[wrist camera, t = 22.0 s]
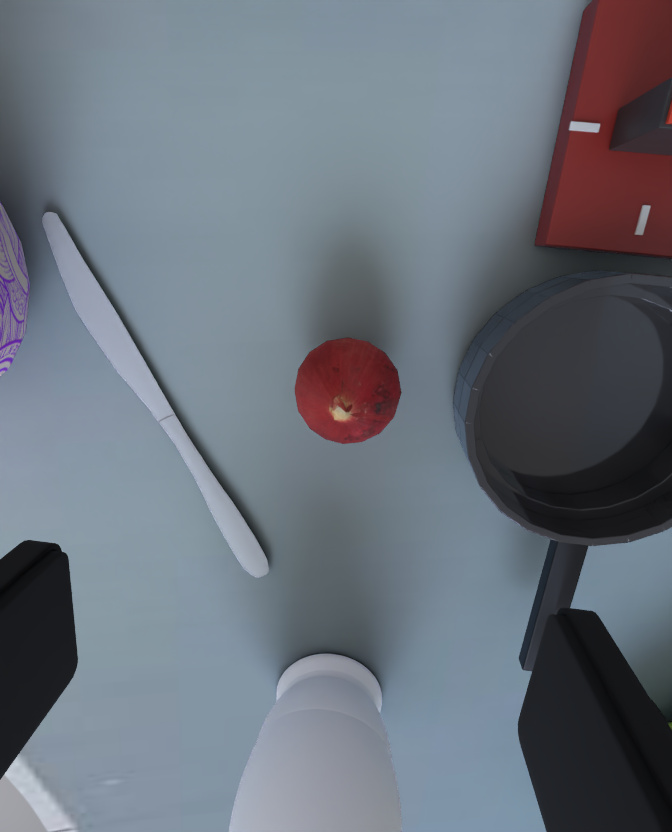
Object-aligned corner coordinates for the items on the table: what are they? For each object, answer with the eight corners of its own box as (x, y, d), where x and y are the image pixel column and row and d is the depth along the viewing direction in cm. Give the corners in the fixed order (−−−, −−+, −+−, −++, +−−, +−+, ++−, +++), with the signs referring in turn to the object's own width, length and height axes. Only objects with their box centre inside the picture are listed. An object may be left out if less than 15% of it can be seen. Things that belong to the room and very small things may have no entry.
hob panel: (580, 9, 24) (600, -13, 22) (773, 25, 24) (810, 3, 22) (531, 245, 28) (544, 244, 25) (698, 261, 27) (725, 262, 25)
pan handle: (553, 526, 29) (559, 536, 28) (583, 530, 29) (591, 539, 28) (518, 658, 32) (522, 670, 31) (545, 662, 32) (550, 674, 31)
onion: (407, 341, 30) (419, 370, 22) (384, 428, 32) (387, 482, 24) (314, 319, 30) (294, 341, 22) (296, 407, 32) (272, 455, 24)
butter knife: (238, 586, 35) (274, 574, 35) (22, 226, 29) (60, 202, 28) (241, 580, 36) (276, 569, 35) (30, 226, 29) (67, 203, 29)
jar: (288, 621, 37) (235, 851, 23) (416, 666, 37) (442, 918, 23) (249, 718, 40) (181, 971, 26) (366, 758, 41) (362, 1028, 26)
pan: (477, 258, 28) (495, 259, 24) (745, 285, 27) (814, 290, 23) (435, 493, 33) (444, 528, 28) (664, 520, 32) (708, 560, 28)
